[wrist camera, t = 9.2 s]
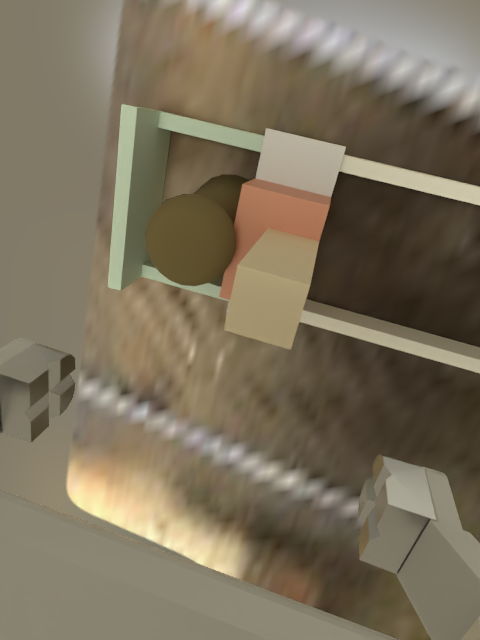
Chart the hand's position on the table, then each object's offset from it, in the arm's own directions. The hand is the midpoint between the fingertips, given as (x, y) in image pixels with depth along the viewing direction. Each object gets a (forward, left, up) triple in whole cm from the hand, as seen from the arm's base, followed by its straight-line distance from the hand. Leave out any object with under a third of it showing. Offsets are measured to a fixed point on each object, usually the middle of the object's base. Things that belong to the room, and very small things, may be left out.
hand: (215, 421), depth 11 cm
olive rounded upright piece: (+6, 0, -24) cm, 24 cm away
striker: (+1, 0, -23) cm, 23 cm away
